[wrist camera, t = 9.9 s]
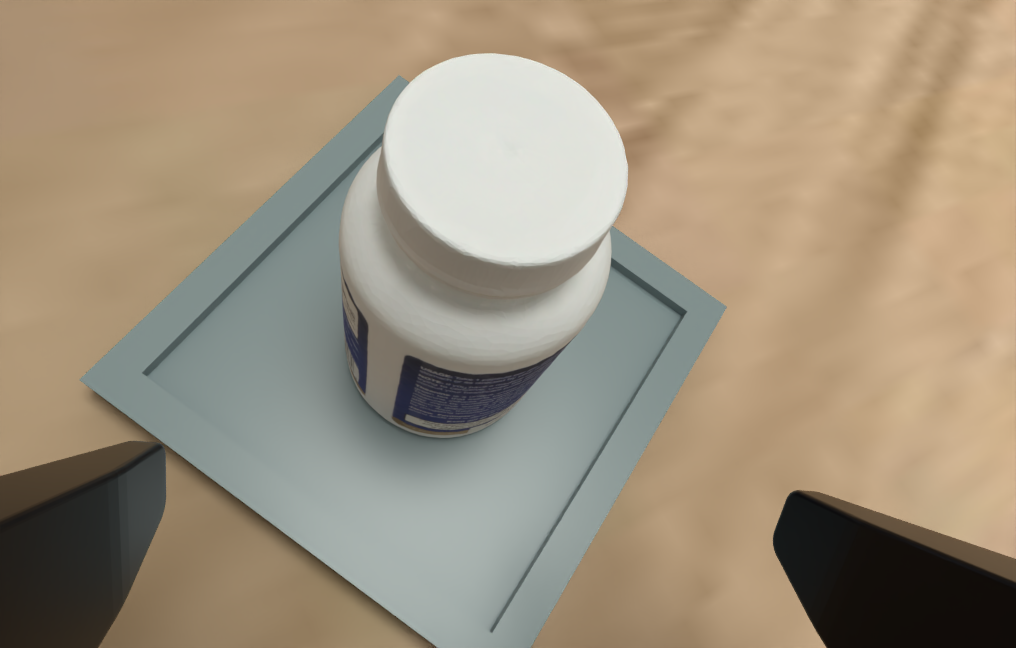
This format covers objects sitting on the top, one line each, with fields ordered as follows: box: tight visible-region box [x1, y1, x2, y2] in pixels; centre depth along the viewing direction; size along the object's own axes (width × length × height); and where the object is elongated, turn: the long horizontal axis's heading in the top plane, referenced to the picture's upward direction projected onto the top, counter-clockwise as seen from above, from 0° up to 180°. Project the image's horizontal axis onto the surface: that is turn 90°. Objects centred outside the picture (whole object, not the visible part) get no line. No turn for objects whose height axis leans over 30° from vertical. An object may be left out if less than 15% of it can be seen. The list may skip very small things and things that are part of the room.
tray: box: [80, 76, 727, 648], centre depth 20 cm, size 13×13×1 cm
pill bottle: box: [339, 53, 628, 438], centre depth 15 cm, size 5×5×10 cm
